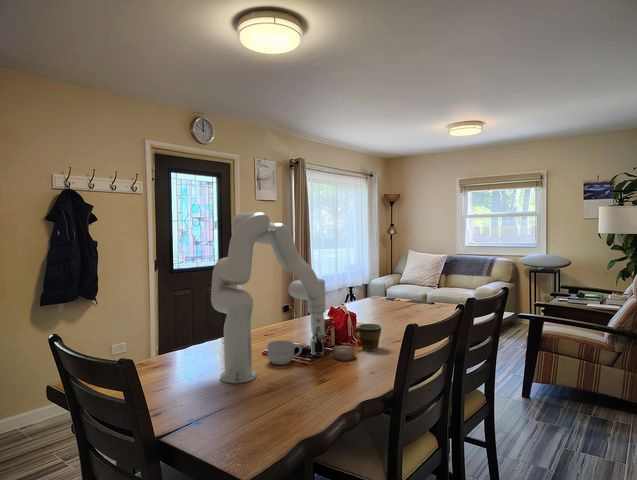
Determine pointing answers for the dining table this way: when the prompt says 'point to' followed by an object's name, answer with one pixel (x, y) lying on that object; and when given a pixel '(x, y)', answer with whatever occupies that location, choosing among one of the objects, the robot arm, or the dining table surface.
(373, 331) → the ceramic cup
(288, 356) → the teacup
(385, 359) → the dining table surface
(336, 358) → the brown round dish
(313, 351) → the sage block
